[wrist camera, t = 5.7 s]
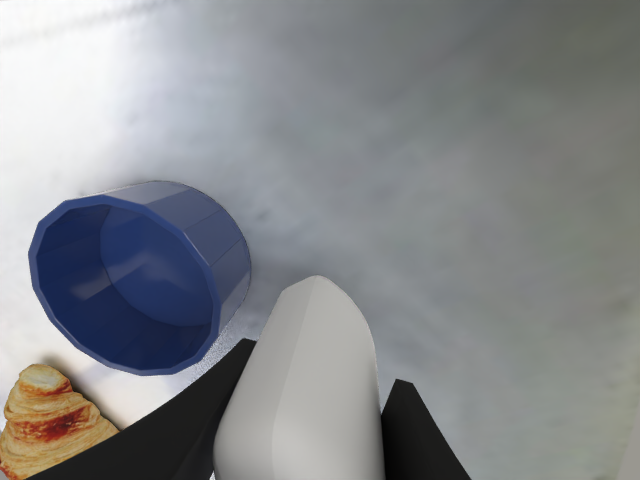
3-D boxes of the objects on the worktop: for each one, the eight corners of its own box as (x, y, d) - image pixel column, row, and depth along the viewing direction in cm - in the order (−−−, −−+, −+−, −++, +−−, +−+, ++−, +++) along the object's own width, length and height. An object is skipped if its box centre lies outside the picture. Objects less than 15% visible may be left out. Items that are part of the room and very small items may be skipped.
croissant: (58, 329, 28) (-75, 388, 22) (101, 359, 22) (-65, 452, 16) (133, 489, 34) (45, 570, 28) (182, 546, 29) (84, 663, 23)
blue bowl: (240, 341, 22) (210, 395, 18) (103, 305, 22) (39, 348, 18) (262, 203, 18) (231, 227, 14) (98, 163, 19) (16, 172, 14)
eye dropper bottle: (287, 370, 15) (97, 1005, 4) (280, 269, 14) (-92, 924, 2) (374, 376, 15) (424, 1119, 4) (380, 272, 13) (514, 1132, 2)
